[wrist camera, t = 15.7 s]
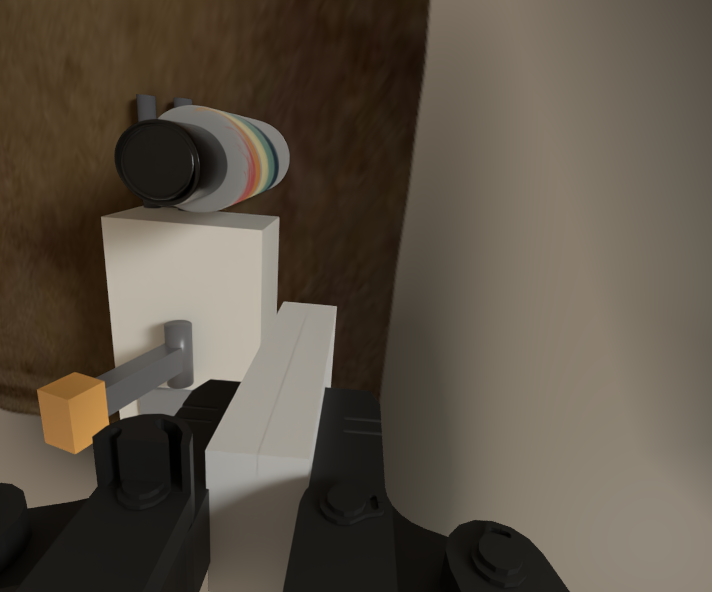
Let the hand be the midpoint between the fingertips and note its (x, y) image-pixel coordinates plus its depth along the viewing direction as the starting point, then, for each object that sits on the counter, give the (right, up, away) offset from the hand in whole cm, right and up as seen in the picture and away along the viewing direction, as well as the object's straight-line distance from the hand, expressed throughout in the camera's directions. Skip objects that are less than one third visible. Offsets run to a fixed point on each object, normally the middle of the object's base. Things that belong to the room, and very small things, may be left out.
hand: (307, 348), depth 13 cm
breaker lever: (-12, -3, +23) cm, 26 cm away
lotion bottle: (-7, +14, +26) cm, 30 cm away
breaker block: (-12, 0, +30) cm, 33 cm away
